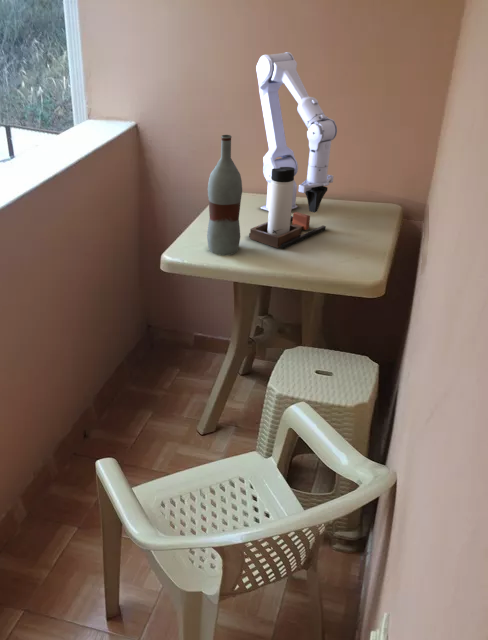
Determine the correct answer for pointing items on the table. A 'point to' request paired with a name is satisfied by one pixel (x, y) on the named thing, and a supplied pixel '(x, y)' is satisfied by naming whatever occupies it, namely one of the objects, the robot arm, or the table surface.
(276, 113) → the robot arm
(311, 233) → the rails
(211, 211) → the bottle
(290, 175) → the travel mug
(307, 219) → the carrier
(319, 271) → the table surface
